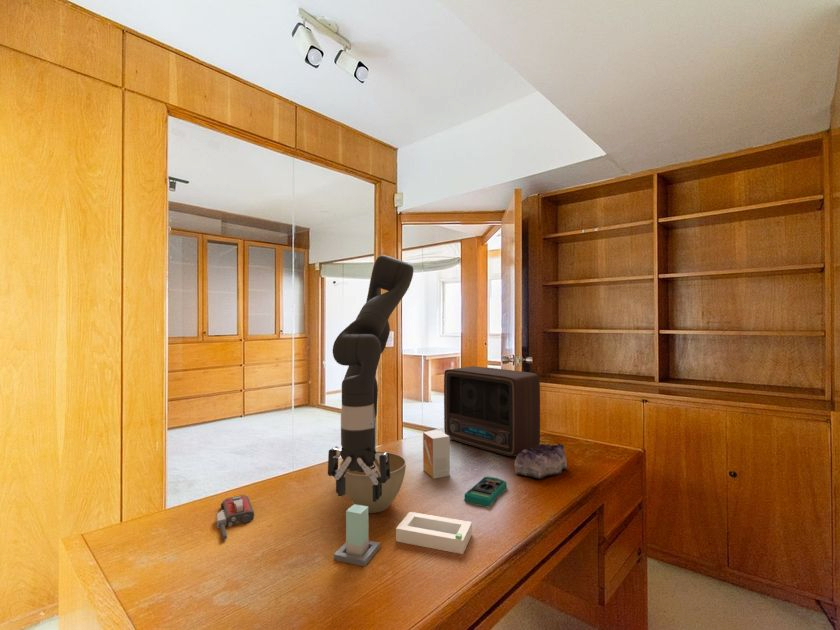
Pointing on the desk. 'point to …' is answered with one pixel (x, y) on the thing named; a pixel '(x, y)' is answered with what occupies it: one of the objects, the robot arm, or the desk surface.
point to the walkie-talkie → (234, 513)
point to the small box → (436, 453)
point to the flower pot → (362, 485)
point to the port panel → (434, 532)
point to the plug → (357, 530)
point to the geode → (541, 461)
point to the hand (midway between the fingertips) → (358, 497)
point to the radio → (492, 408)
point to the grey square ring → (357, 560)
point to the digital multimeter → (485, 491)
